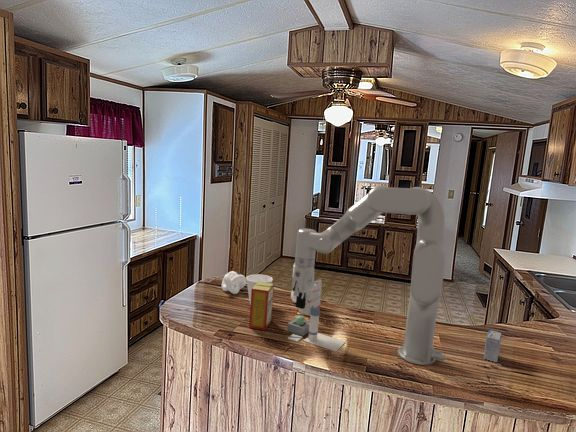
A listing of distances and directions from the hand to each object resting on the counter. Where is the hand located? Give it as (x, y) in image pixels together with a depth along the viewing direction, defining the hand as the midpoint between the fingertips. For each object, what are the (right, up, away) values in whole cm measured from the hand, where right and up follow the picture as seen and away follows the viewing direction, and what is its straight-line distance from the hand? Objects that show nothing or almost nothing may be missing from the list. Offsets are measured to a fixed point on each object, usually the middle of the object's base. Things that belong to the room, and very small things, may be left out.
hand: (300, 307), depth 153 cm
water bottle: (0, -5, +32) cm, 33 cm away
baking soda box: (-16, -8, +5) cm, 18 cm away
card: (-2, -10, -6) cm, 12 cm away
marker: (+4, -10, -6) cm, 13 cm away
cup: (-18, -5, +24) cm, 31 cm away
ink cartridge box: (+5, -7, +21) cm, 22 cm away
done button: (0, -8, +1) cm, 8 cm away
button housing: (0, -9, +1) cm, 9 cm away
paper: (+9, -11, -7) cm, 16 cm away
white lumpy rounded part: (-32, -1, +40) cm, 51 cm away
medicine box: (+69, -16, -9) cm, 71 cm away
